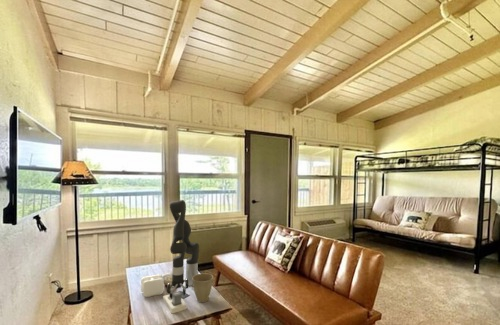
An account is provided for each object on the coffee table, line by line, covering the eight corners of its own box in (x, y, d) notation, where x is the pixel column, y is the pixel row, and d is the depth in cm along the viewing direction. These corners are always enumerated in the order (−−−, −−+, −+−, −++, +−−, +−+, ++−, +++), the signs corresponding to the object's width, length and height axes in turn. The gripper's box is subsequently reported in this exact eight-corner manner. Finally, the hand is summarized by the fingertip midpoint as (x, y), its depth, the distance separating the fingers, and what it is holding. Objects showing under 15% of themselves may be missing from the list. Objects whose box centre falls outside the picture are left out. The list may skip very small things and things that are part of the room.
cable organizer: (141, 298, 183) (142, 282, 183) (140, 292, 192) (141, 276, 193) (163, 294, 190) (164, 278, 190) (161, 288, 199) (161, 273, 200)
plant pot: (212, 294, 191) (213, 272, 192) (213, 304, 177) (213, 281, 177) (192, 295, 189) (192, 273, 189) (191, 305, 174) (191, 282, 175)
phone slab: (180, 291, 195) (180, 290, 195) (189, 296, 188) (189, 294, 188) (173, 294, 191) (173, 293, 191) (182, 299, 184) (183, 297, 184)
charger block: (178, 304, 175) (179, 291, 175) (180, 307, 171) (181, 293, 171) (172, 306, 172) (172, 292, 173) (174, 309, 169) (174, 295, 169)
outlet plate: (176, 296, 186) (177, 292, 187) (186, 309, 170) (186, 304, 170) (163, 300, 181) (163, 296, 181) (171, 313, 164) (171, 308, 164)
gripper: (186, 268, 180) (185, 291, 179) (165, 272, 172) (165, 297, 171) (190, 272, 173) (189, 296, 173) (169, 276, 165) (168, 302, 165)
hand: (177, 296), depth 172 cm, fingers open, 8 cm apart
